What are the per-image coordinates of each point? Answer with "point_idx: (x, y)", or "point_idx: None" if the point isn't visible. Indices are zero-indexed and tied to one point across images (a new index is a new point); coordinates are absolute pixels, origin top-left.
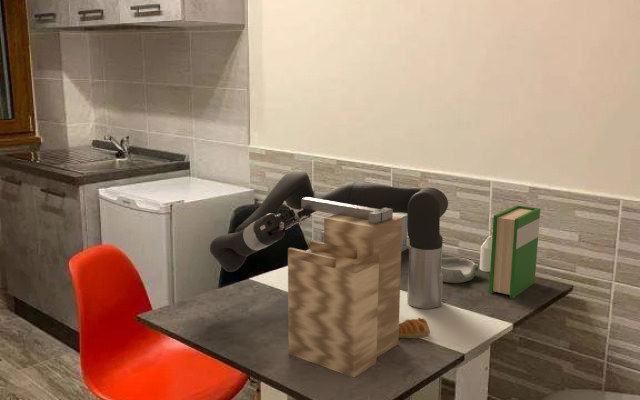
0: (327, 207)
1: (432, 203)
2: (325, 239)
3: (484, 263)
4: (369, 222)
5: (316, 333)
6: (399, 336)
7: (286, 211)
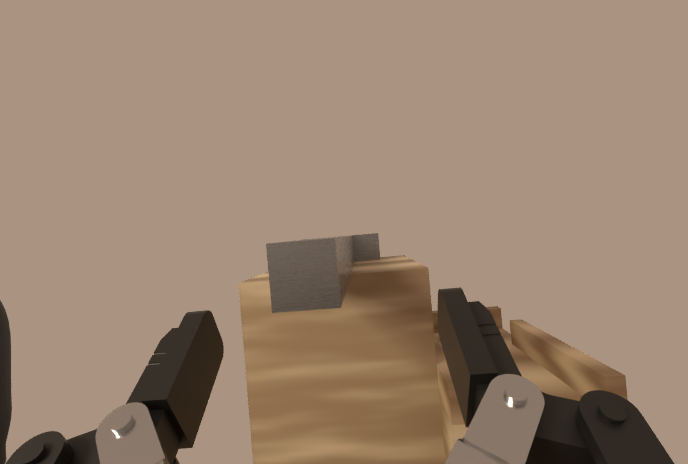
0: (347, 255)
1: (2, 309)
2: (433, 348)
3: None
4: (379, 257)
5: None
6: None
7: (473, 319)
